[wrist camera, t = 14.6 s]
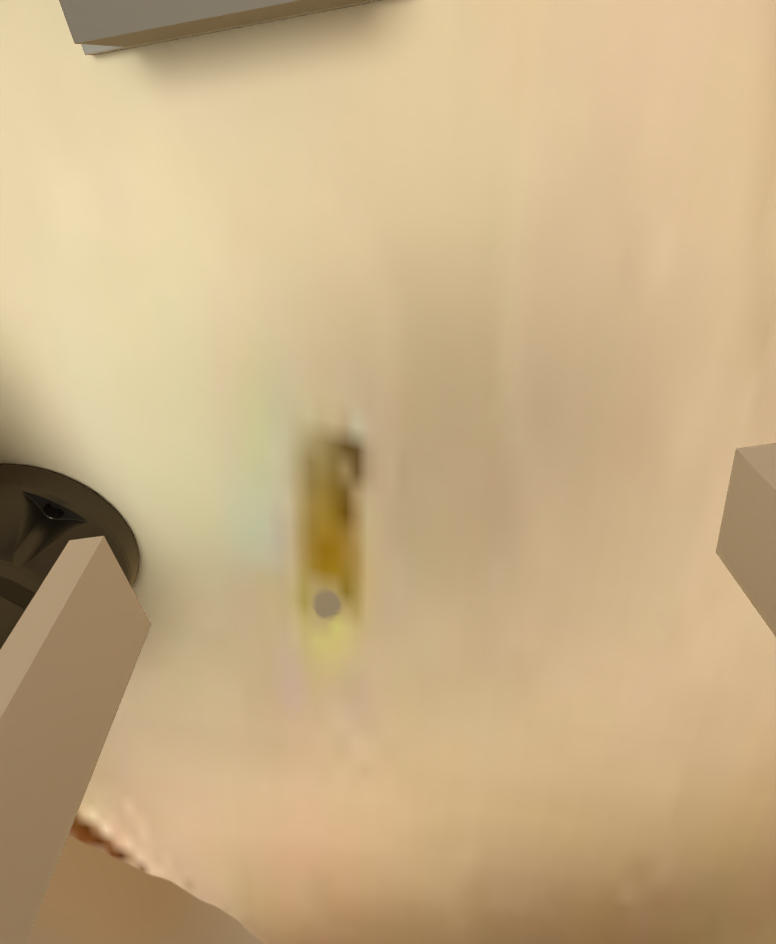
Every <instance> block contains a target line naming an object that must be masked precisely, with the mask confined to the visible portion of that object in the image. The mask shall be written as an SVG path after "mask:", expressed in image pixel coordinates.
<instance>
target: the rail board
mask: <svg viewBox="0 0 776 944" xmlns="http://www.w3.org/2000/svg"><path fill="white" fill-rule="evenodd" d="M59 1H60V4H61V7H62V10H63V12H64V15H65V18H66V21H67V24H68V26H69V29H70V32H71V35H72V38H73V40H74V43H75V44H82V47H83V50H84V53H85V55H96V54H101V53H106V52H112V51H117V50H122V49H127V48H133V47H138V46H143V45H148V44H154V43H159V42H164V41H169V40H175V39H180V38H185V37H190V36H196V35H201V34H206V33H211V32H217V31H222V30H227V29H233V28H238V27H243V26H248V25H254V24H259V23H264V22H269V21H275V20H280V19H285V18H290V17H296V16H301V15H306V14H311V13H317V12H322V11H327V10H332V9H338V8H343V7H348V6H354V5H359V4H364V3H369V2H375V1H380V0H59Z"/></svg>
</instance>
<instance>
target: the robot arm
mask: <svg viewBox="0 0 776 944" xmlns="http://www.w3.org/2000/svg"><path fill="white" fill-rule="evenodd" d="M716 553H717V555H718V556H719V557H720V559H721V560H722V562H723V563H724V565H725V566H726V567H727V569H728V570H729V572H730V573H731V574H732V576H733V577H734V579H735V580H736V581H737V583H738V584H739V586H740V587H741V589H742V590H743V591H744V593H745V594H746V596H747V597H748V598H749V600H750V601H751V603H752V604H753V606H754V607H755V608H756V610H757V611H758V613H759V614H760V615H761V617H762V618H763V620H764V621H765V622H766V624H767V625H768V627H769V628H770V630H771V631H772V632H773V634H774V635H775V637H776V443H773V444H766V445H759V446H752V447H744V448H737V449H736V451H735V456H734V461H733V466H732V471H731V477H730V482H729V487H728V492H727V497H726V502H725V507H724V513H723V518H722V523H721V528H720V533H719V538H718V544H717V549H716ZM138 568H139V555H138V549H137V545H136V542H135V539H134V537H133V535H132V533H131V531H130V529H129V527H128V526H127V524H126V523H125V521H124V520H123V519H122V517H121V516H120V515H119V514H118V513H117V512H116V511H115V510H114V509H113V508H112V507H111V506H110V505H109V504H108V503H107V502H106V501H105V500H104V499H102V498H101V497H100V496H98V495H97V494H96V493H94V492H93V491H91V490H90V489H88V488H86V487H85V486H83V485H81V484H79V483H78V482H75V481H73V480H71V479H69V478H67V477H64V476H62V475H59V474H57V473H54V472H51V471H47V470H44V469H40V468H35V467H30V466H24V465H13V464H0V944H26V942H27V939H28V937H29V935H30V932H31V929H32V927H33V924H34V922H35V919H36V917H37V914H38V912H39V909H40V906H41V904H42V901H43V899H44V896H45V893H46V891H47V889H48V886H49V883H50V881H51V878H52V876H53V873H54V871H55V868H56V866H57V863H58V860H59V858H60V855H61V853H62V850H63V847H64V845H65V843H66V840H67V837H68V835H69V832H70V830H71V827H72V825H73V822H74V820H75V817H76V815H77V812H78V809H79V807H80V804H81V802H82V799H83V797H84V794H85V792H86V789H87V786H88V784H89V781H90V779H91V776H92V774H93V771H94V769H95V766H96V763H97V761H98V758H99V756H100V753H101V751H102V748H103V746H104V743H105V740H106V738H107V735H108V733H109V730H110V728H111V725H112V723H113V720H114V717H115V715H116V712H117V710H118V707H119V705H120V702H121V700H122V697H123V694H124V692H125V689H126V687H127V684H128V682H129V679H130V677H131V674H132V671H133V669H134V666H135V664H136V661H137V659H138V656H139V654H140V651H141V649H142V646H143V643H144V641H145V638H146V636H147V633H148V631H149V628H150V626H151V623H150V621H149V619H148V618H147V616H146V614H145V612H144V610H143V608H142V606H141V604H140V603H139V601H138V599H137V597H136V595H135V593H134V591H133V589H132V586H133V583H134V581H135V579H136V576H137V573H138Z"/></svg>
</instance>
